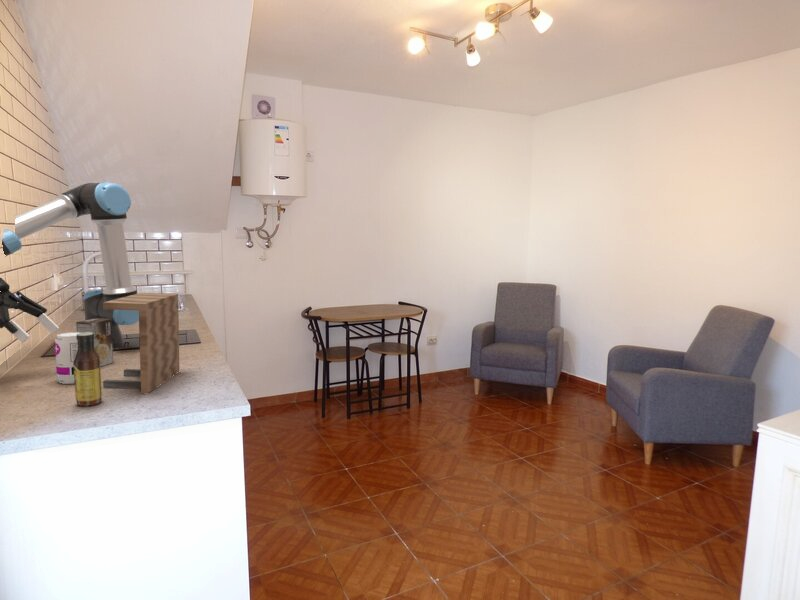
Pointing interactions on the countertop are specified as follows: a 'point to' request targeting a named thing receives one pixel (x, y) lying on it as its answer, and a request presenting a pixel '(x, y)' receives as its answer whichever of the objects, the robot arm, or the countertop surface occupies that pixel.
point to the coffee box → (99, 337)
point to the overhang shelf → (151, 339)
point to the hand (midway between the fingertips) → (41, 335)
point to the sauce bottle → (87, 371)
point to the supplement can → (65, 356)
